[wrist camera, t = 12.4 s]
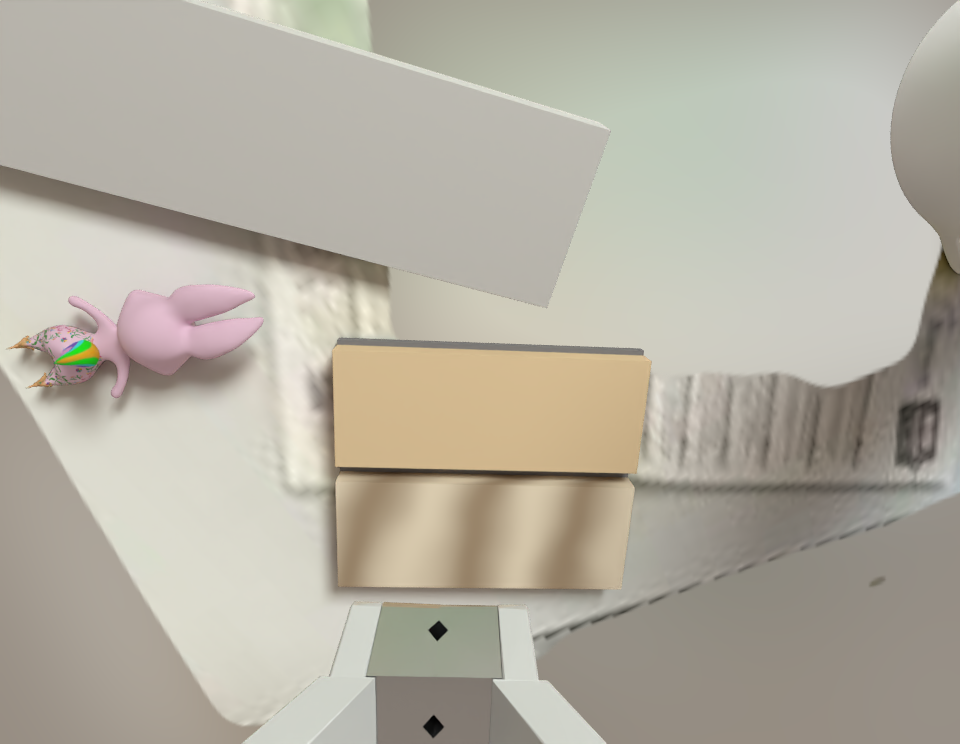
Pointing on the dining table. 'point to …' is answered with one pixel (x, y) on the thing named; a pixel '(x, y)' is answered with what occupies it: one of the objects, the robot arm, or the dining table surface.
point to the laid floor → (488, 408)
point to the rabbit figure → (146, 334)
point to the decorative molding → (295, 138)
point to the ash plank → (481, 530)
